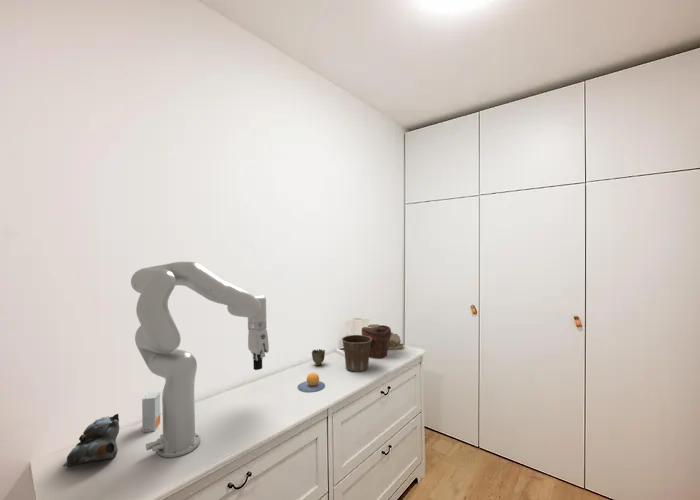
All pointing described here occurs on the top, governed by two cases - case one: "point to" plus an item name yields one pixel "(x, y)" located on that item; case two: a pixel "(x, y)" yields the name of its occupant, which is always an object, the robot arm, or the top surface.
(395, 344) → the ceramic model
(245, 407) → the top surface
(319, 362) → the cup
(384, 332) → the brown lidded basket
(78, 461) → the lucky cat figurine
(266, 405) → the top surface
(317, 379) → the ball
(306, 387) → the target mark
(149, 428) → the skincare box
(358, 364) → the plant pot
